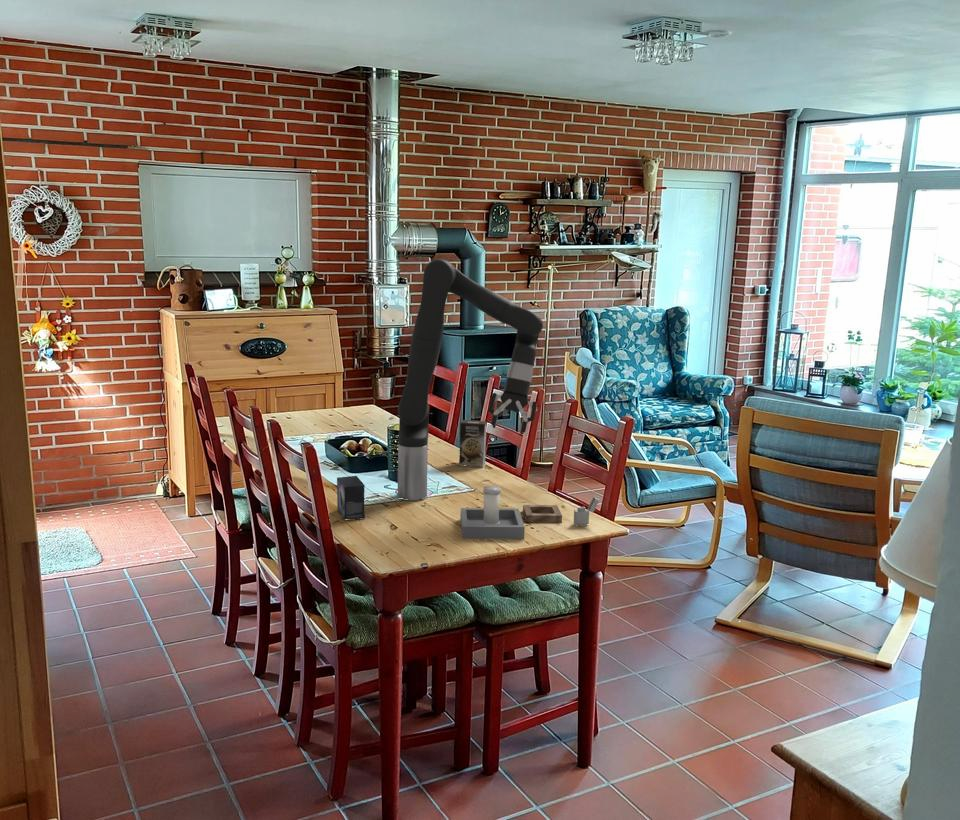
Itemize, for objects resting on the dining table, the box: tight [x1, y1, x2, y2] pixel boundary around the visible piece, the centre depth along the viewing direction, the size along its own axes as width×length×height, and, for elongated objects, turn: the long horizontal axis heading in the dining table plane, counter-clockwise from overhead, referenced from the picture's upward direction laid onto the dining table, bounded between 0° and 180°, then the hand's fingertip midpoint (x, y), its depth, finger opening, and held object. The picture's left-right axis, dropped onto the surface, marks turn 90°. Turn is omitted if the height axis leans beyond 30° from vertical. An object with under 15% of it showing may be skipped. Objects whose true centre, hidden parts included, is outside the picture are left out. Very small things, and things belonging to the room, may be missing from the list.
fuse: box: [482, 485, 501, 525], centre depth 251 cm, size 5×5×11 cm
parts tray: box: [460, 507, 526, 540], centre depth 252 cm, size 17×17×4 cm
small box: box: [336, 475, 366, 520], centre depth 261 cm, size 11×6×10 cm, turn 21°
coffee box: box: [458, 419, 487, 467], centre depth 322 cm, size 9×6×16 cm
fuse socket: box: [522, 504, 563, 523], centre depth 265 cm, size 10×10×2 cm
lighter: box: [573, 496, 600, 526], centre depth 258 cm, size 7×2×8 cm, turn 105°
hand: (507, 430), depth 269 cm, fingers open, 8 cm apart
